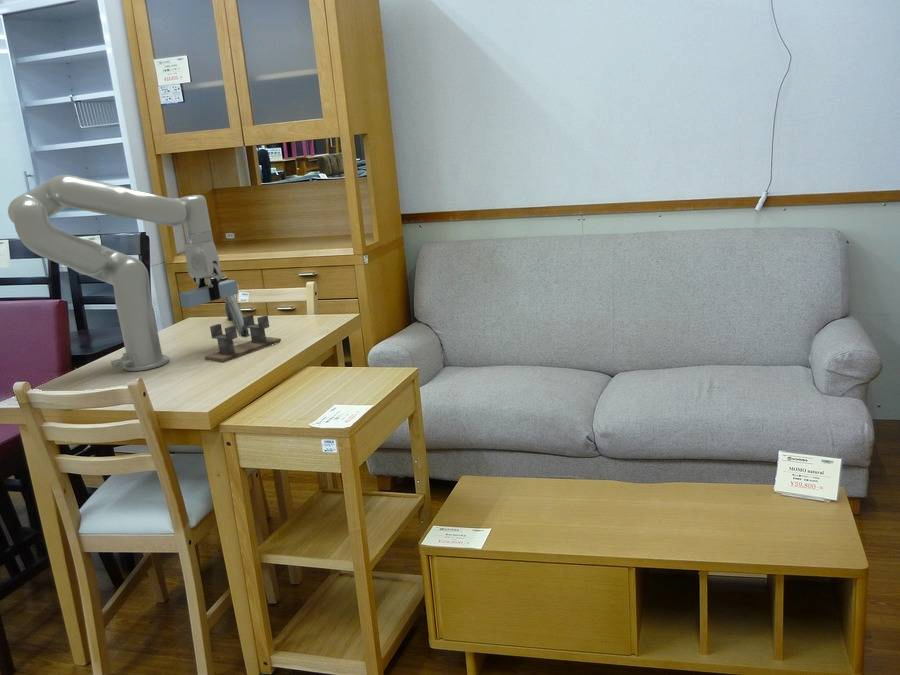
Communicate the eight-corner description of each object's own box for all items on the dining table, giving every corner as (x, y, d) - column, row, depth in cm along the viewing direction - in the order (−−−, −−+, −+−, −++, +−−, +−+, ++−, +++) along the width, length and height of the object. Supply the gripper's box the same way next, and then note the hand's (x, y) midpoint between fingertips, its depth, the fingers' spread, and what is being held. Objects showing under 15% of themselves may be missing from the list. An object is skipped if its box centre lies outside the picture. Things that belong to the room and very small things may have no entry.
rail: (190, 307, 233) (187, 294, 232) (181, 306, 235) (178, 293, 234) (238, 293, 247) (236, 280, 246) (229, 292, 249) (227, 280, 248)
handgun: (253, 361, 263) (249, 322, 255) (243, 363, 262) (239, 324, 254) (233, 313, 287) (229, 276, 278) (224, 315, 286) (219, 278, 277)
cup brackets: (222, 362, 229) (217, 331, 226) (205, 359, 233) (199, 329, 231) (281, 341, 245) (276, 312, 243) (263, 339, 250) (259, 311, 248)
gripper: (170, 240, 238) (182, 301, 243) (207, 240, 229) (218, 303, 233) (191, 236, 244) (202, 295, 249) (228, 236, 234) (238, 297, 239)
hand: (210, 298), depth 241 cm, fingers closed on rail, 4 cm apart
